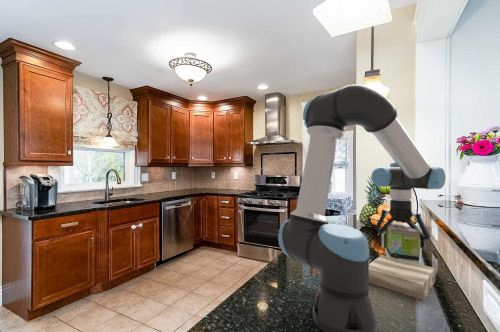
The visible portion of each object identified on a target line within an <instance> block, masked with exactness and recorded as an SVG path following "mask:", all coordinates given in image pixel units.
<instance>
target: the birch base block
mask: <svg viewBox="0 0 500 332" xmlns="http://www.w3.org/2000/svg"><path fill="white" fill-rule="evenodd" d="M435 283H436V267H431V266H428V265H426V264H425V265H424V264H420V263H419V264H416V263H412V262H408V261H404V260H400V259H396V258H392V257H388V256H386V255H383V254H381V255H380V256H378V257H377V258H375V259H374V260H372V261H371V262H370V263H369V284H371V285H372V284H373V285H376V286H378V287H381V288H382V287H383V288H385V289H387V290H388V289H389V290H391V291H394V292H398V293H400V294H404V295H406V296H410V297H413V298H415V299H419V300H422V301H424V300H425V299H426V297H427V296H428V294H429V292H430V291H431V289H432V288H433V286H434V284H435Z"/></svg>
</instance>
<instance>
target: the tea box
mask: <svg viewBox="0 0 500 332" xmlns="http://www.w3.org/2000/svg"><path fill="white" fill-rule="evenodd" d="M387 222H388V221H385V224H386V223H387ZM385 232H386V247H385V248H384V250H385V251H384V253H385V256H388V257H392V258H396V259H400V260H404V261H408V262H412V263H416V264H420V256H419V248H420V243H419V242H420V232H419V231H418V230H417V229H413V228H411V227H410V226H409V225H408V224H407V223H406V222H405V223H402V222H395V221H393V222H392V223H391V224H390V225H388V227H387V228H386V229H385Z"/></svg>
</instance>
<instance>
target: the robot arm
mask: <svg viewBox="0 0 500 332" xmlns="http://www.w3.org/2000/svg"><path fill="white" fill-rule="evenodd" d="M397 117H398V110H397V109H396V107H395V106H394V104H393V103H392V101H390V100H389V99H388V98H387V97H386V96H384V95H383V94H382V93H381V92H380V91H378V90H376V89H374V88H372V87H369V86H366V85H362V84H348V85H345V86H343V87H340V88H337V89H335V90H332V91H331V90H330V91H329V92H326V93H324V92H323V93H320V94H318V95H316V96H314V97H312V98H310V99H309V100H308V101H307V102H306V104H305V106H304V108H303V111H302V120H303V121H304V122H303V123H304V126H305V127H306V132H307V134H308V135H309V137H310V138H309V143H308V148H307V153H306V158H305V162H304V168H303V173H302V178H301V183H300V189H299V193H298V199H297V203H296V204H297V205H296V208H295V210H293V211H291V212H290V214H289V219H287V220H286V221H284V222H283V223H282V224H281V226H280V228H279V230H278V235H277V238H278V239H277V240H278V245H279V248H280V249H281V251H282V253H283V254H284V255H285V256H287V257H289V258H290V259H291V260H293V261H295V262H299V263H301V264H302V265H305V266H307V267H309V268H311V269H313V270H315V271H317V272H318V273H319V286H318V287H319V288H318V291H317V293H316V297H315V300H314V302H313V306H312V319H313V322H314V324H315V326H316V327H317V326H318V327H319V328H320V329H321V330H320V329H319V328H318V327H317V328H318V329H319V330H320V331H322V330H323V331H324V332H378V319H377V316H376V313H375V310H374V306H373V304H372V301H371V297H370V295H369V294H370V292H369V291H370V289H369V287H370V285H369V284H370V283H369V264H370V263H369V262H370V251H369V240H368V239H367V236H366V235H365V234H364V233H363V232H362V231H360V230H359V229H356V228H354V227H352V226H348V225H345V224H338V223H330V222H329V220H328V218H327V217H326V210H327V203H328V200H329V199H328V198H329V192H330V187H331V186H330V185H331V181H332V175H333V170H334V164H335V159H336V153H337V147H338V142H339V140H341V139H342V138H343V137H344V136H345V132H346V127H351V126H355V125H357V126H360V127H362V128H363V129H364V130H365V131H366V132H368V133H371V134H372V135H373V136H374V137H375V138H376V140H377V141H378V142H379V143H380V145H381V146H382V147H383V148H384V150H385V151H386V152H387V153H388V155H389V156H390V157H391V158H392V161H394V162H392V161H391V162H390V164H389V166H380V167H376V168H375V169H374V170H373V171H372V172H371V181H372V183H373V185H375V186H377V187H382V188H387V187H389V198H390V200H389V202H390V203H389V206H390V207H389V209H385V208H384V209H382V210H381V215H380V217H379V219H378V221H377V223H376V225H375V227H374V230H375V231H378V234H379V236H378V237H379V238H378V239H379V240H381V249H385V247H386V228H387V227H388V225H390V224H391V223H392V222H395V223H407V224H408V225H409V226H410V227H411V228H413V229H417V230H418V231H419V232H420V242H419V243H420V248H419V257H422V255H423V253H422V251H423V249H424V248H425V246H426V245H425V243H426V240H429V239H430V238H431V234H430V233H429V231H428V230H429V229H428V228H427V227H426V224H425V223H424V221H423V219H422V214H421V213H420V212H418V213H413V211H412V209H413V208H412V200H411V199H412V189H422V190H424V189H425V190H440V189H442V188H443V187H444V186H445V183H446V173H445V172H446V171H445V169H443V168H442V167H440V166H431V165H430V164H429V163H428V162H427V160H426V157H424V155H423V154H422V152H421V151H420V150H419V148H418V147H417V145H416V144H415V143H414V141H413V140H412V138H411V137H410V134H409V133H408V132H407V131H406V129H405V128H404V126H403V125H402V123H401V122H400V121H399V119H398V118H397ZM387 215H390V218H389V219H388V220H387V221H386V222H387V223H386V222H385V223H384V225H383V226H382V224H383V222H384V221H385V219H386V217H387ZM412 218H414V219H415V220H416V222H417V225H418V226H419V228H418V226H417V225H416V224H415V223H414V221H413V220H412ZM323 331H322V332H323Z"/></svg>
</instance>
